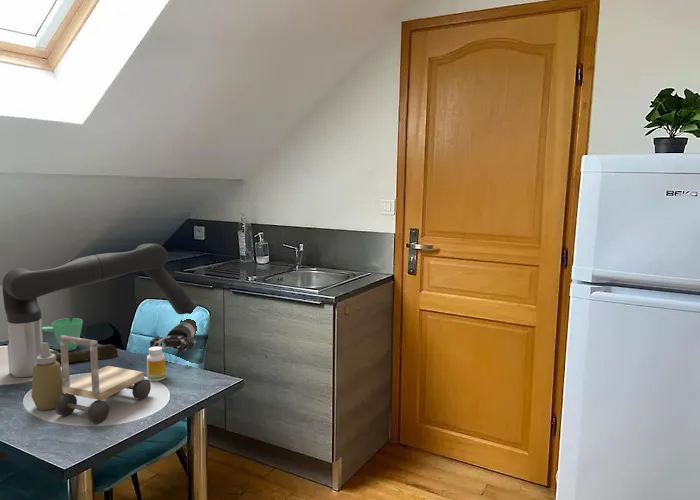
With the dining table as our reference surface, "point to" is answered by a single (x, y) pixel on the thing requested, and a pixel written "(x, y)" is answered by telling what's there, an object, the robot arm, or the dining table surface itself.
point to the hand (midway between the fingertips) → (166, 349)
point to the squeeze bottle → (46, 380)
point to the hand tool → (102, 350)
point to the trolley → (96, 383)
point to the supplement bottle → (155, 364)
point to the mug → (65, 331)
